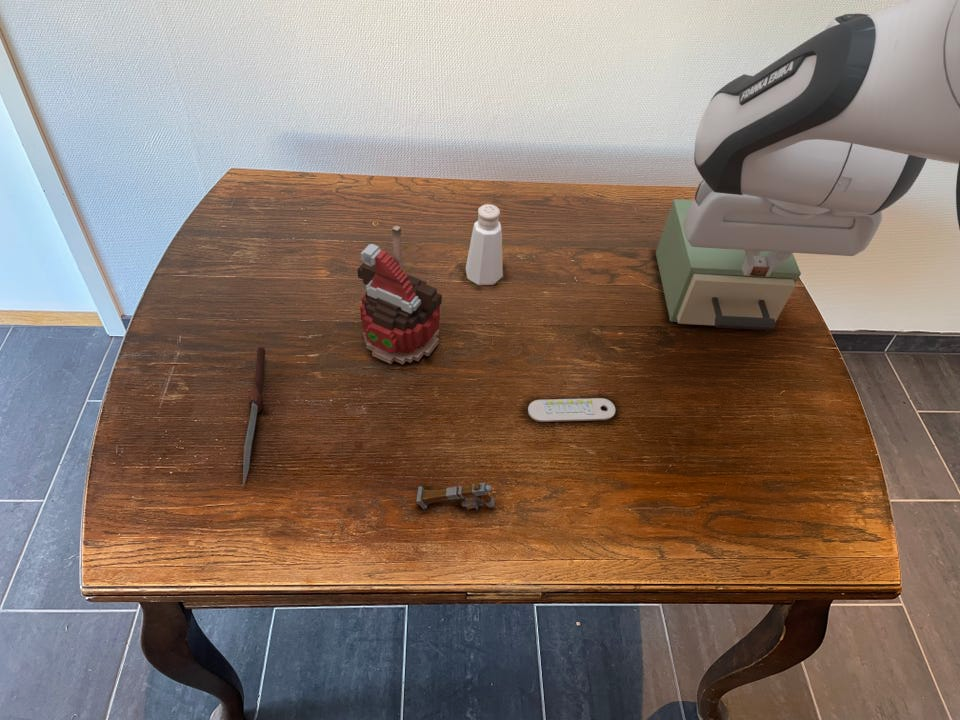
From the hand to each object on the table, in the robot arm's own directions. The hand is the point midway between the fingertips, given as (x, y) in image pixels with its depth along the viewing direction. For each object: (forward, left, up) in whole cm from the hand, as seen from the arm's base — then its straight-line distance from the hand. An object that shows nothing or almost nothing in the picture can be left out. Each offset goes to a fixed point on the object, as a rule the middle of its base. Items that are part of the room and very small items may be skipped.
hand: (754, 272), depth 83 cm
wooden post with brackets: (-29, +32, -12) cm, 45 cm away
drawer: (+5, 0, -11) cm, 12 cm away
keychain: (-15, +20, -12) cm, 28 cm away
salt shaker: (+7, +33, -12) cm, 35 cm away
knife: (-22, +56, -12) cm, 61 cm away
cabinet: (+9, +1, -12) cm, 15 cm away
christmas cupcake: (-7, +42, -12) cm, 44 cm away
